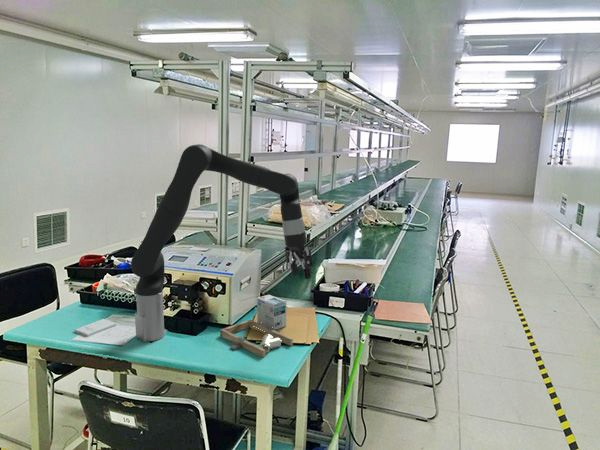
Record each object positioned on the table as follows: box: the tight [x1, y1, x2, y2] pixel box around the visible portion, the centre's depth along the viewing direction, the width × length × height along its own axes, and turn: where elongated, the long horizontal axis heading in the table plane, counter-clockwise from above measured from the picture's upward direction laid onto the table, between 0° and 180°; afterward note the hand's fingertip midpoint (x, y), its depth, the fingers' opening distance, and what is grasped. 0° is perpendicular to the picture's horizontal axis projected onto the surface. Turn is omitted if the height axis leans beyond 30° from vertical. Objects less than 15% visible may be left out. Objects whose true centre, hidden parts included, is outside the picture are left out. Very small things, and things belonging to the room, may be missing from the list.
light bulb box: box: [256, 294, 287, 330], centre depth 185 cm, size 11×7×11 cm, turn 44°
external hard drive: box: [73, 318, 117, 337], centre depth 179 cm, size 2×8×12 cm
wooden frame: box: [219, 319, 294, 358], centre depth 171 cm, size 14×24×2 cm, turn 45°
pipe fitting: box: [259, 334, 283, 354], centre depth 165 cm, size 8×4×7 cm
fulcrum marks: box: [229, 327, 281, 351], centre depth 171 cm, size 22×3×3 cm, turn 135°
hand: (301, 276), depth 163 cm, fingers open, 8 cm apart
